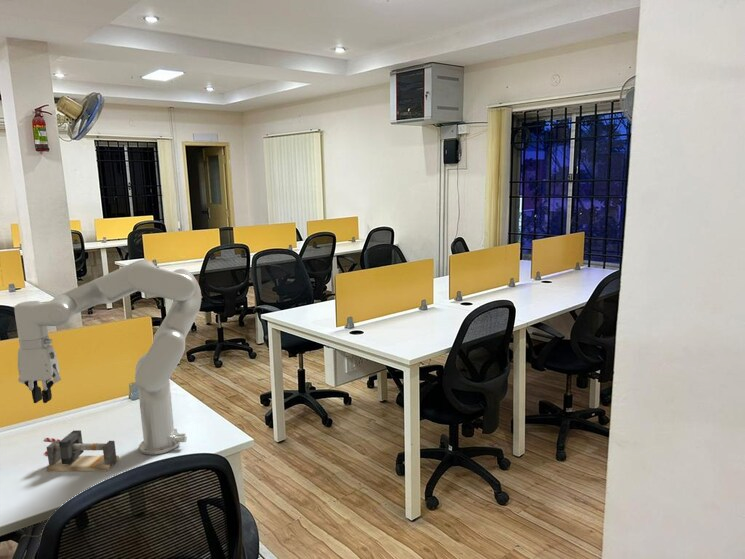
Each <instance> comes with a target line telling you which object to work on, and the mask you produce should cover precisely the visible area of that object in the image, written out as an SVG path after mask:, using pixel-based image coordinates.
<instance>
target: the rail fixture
mask: <svg viewBox="0 0 745 559" xmlns="http://www.w3.org/2000/svg"><path fill="white" fill-rule="evenodd" d="M59 442H60V441H54V442H51V443H50V444H49V445H48V446H46V451H47V454H48V456H47V459H48V460H47V461H48V465H47V466H46V467H45V470H46V472H99V471H100V472H102V471H103V472H106V471H107V472H108V471H109V470H110V469H111V468H113V466H114V465H115V464H116V463H117V462H118V461H119V460H120V455H117V451H116V442H115V440H107V442H105V443H97V442H96V443H83V444H71V449H72V450H84V451H102V453H103V454H102V455H79V456H78V457H77V458H76V459H75V460H74V461H73V462H72V463H70V464H62V461H61V454H60V447H59Z"/></svg>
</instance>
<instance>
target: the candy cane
mask: <svg viewBox="0 0 745 559" xmlns="http://www.w3.org/2000/svg"><path fill="white" fill-rule="evenodd" d="M61 440H62V439H58V438H52V437H44V441H45V442H51V443H53V442H54V441H61ZM44 454H45V456H47V457H48V454H47V450H46V451H45V452H44Z"/></svg>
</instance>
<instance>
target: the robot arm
mask: <svg viewBox="0 0 745 559" xmlns="http://www.w3.org/2000/svg"><path fill="white" fill-rule="evenodd" d="M136 292H140V293H144V294H148V295H151V296H155V297H158V298H163V299H167V300H171V301H172V302H171V303H172V304H171V305H170V308H169V309H168V312H166V316H165V317H164V319H163V320H162V322H161V324H160V325H159V326H158V329H157V330H156V331H155V333H154V335H153V339H152V344H151V346H150V348H149V349H148V351H147V352H146V353H144V354H142V355H141V357H140V358H139V359H138V360H137V362H136V366H135V370H134V371H135V373H134V380H135V381H134V382H135V384H136V387H137V388H138V389H137V390H138V399H139V409H140V419H141V428H142V429H141V430H142V437H143V440H142V441H141V442H140V443H139V444H138V449H139V452H140V453H142V454H144V455H153V456H154V455H160V454H166V453H169V452H171V451H173V450H174V449H176V448H177V447H178V446H179V445H180V444H181V443H186V442H187V437H188V436H186V433H179V432H178V429H177V428H175V425H174V415H173V405H172V392H171V382H170V379H171V376H172V375H173V373H174V372H175V370H176V368H177V366H178V365H179V362H180V361H181V359H182V358H183V355H184V353H185V350H186V338H187V336H188V334H189V332H190V330H191V328H192V326H193V324H194V322H195V320H196V319H197V316H198V314H199V312H200V310H201V304H202V290H201V287H200V285H199V282H198V280H197V279H196V277H195V276H194V274H192V272H191V271H189V270H187V269H184V268H178V269H174V270H173V271H172V270H169V269H168V270H167V269H163V268H161V267H158V266H156V265H155V263H154V262H152V261H150V260H148V259H139V260H136V261H134V262H132V263H129V264H127V265H124V266H122V267H120V268H118V269H116V270H115V269H114V270H113V271H112V272H111V271H110V272H109V273H106V274H104V275H102V276H101V277H97V278H95V279H93V280H91V281H88V282H85V283H83V284H82V285H81V284H80V285H79V286H76V287H75V288H73V289H71V290H68V291H66V292H62V293H61V294H59V295H57V296H56V297H54V298H53V299H51V300H50V301H49V302H45V303H43V301H38V300H29V301H23V302H19V303H17V304H16V305H15V307H14V316H15V318H14V319H15V323H16V330H17V331H16V332H17V338H18V343H19V348H18V351H17V370H18V376H19V377H18V382H19V383H21V384H23V385H25V386H26V387H27V388H28V390H29V391H31V395H32V396H31V397H32V401H33V404H37V403H38V402H40V401H41V400H42V403H43V404H47V403H48V402H50V401H51V400H52V398H53V395H52V389H51V388H52V387H53V386H54V385H55V384H57V383H59V382H60V381H61V380H62V377H61V376H60V374H61V372H60V371H61V370H60V365H59V360H58V357H57V354H56V350H55V348H54V345H53V342H54V340H53V339H52V338H50V336H49V330H48V327H62V326H65V325H66V324H68V323H70V321H71V320H72V318H73V317H74V316H75V315H77V314H78V313H81V312H83V311H86V310H88V309H90V308H92V307H95V306H97V305H103V304H104V305H105V304H111V303H115V302H117V301H119V300H121V299H123V298H125V297H128V296H129V295H132V294H133V293H136ZM39 382H41V384H42V385H41V386H42V388H41V386H39Z"/></svg>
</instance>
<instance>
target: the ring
mask: <svg viewBox="0 0 745 559" xmlns="http://www.w3.org/2000/svg"><path fill="white" fill-rule="evenodd" d="M60 440H61V441H60V442H59V447H60V454H61V461H62V464H70V463H72V462H73V461H74V460H75V459H76V458H77V457H78V456H82V454H83V453H84V451H85V450H72V449H71V444H84V443H83V436H82V430H72V431H70V433H68V434H67V435H66V436H65V437H63V439H60Z"/></svg>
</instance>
